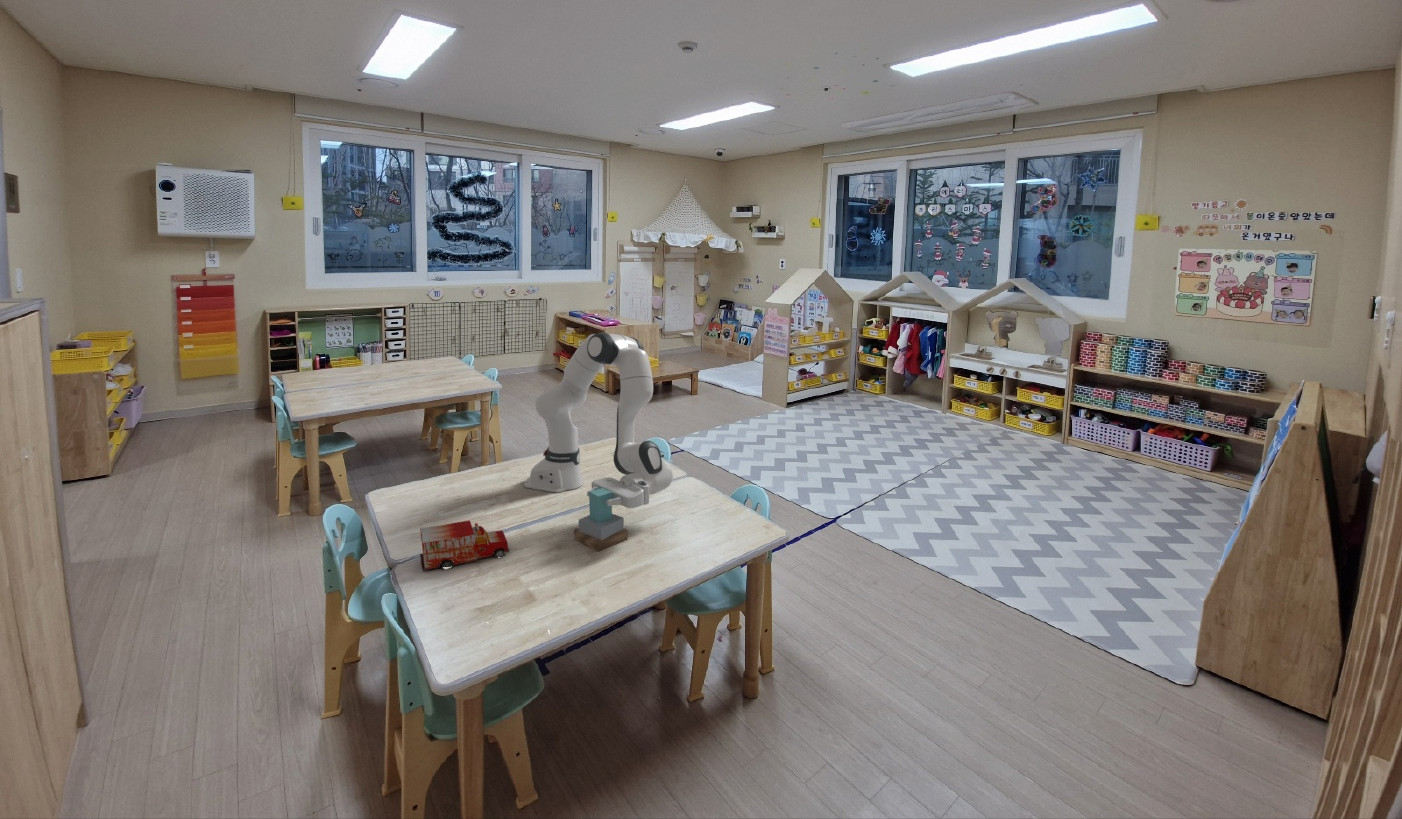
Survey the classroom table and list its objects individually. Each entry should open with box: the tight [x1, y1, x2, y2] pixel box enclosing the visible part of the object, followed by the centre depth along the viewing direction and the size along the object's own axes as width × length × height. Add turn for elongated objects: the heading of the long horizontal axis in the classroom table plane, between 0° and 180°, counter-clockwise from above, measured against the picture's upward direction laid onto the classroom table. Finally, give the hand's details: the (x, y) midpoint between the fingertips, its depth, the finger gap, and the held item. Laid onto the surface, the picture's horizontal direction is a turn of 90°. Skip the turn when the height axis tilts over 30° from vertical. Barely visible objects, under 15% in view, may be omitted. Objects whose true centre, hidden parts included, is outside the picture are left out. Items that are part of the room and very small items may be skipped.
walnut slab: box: [573, 527, 629, 552], centre depth 213 cm, size 12×12×4 cm
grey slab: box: [578, 513, 625, 540], centre depth 211 cm, size 10×10×4 cm
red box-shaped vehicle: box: [419, 520, 510, 571], centre depth 199 cm, size 11×25×10 cm, turn 115°
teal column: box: [588, 488, 613, 523], centre depth 209 cm, size 5×5×9 cm
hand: (597, 498), depth 208 cm, fingers open, 8 cm apart
